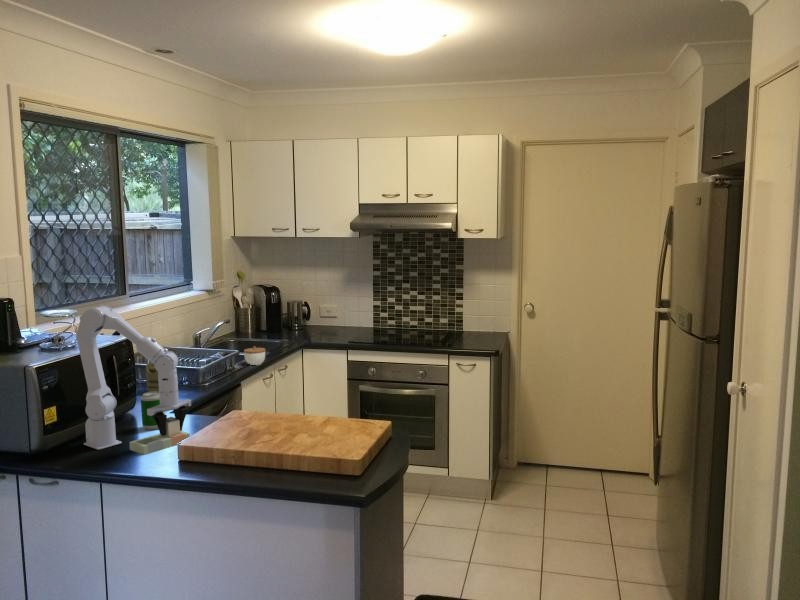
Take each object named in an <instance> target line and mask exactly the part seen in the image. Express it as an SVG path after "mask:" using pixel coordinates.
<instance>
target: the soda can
mask: <svg viewBox="0 0 800 600" xmlns="http://www.w3.org/2000/svg"><path fill="white" fill-rule="evenodd" d="M157 405H160V398H159V392H156V391H155V392H147V391H146V392H144V393H142V395H141V397H140V409H141V421H142V422H141V425H142V427H143V428H144V429H145V430H146V429H147V431H154V429H156V430H159V429H158V426H157V424H156V422H155V420H154V419H153V417H152V416H149V415H147V409H149V408H152V407H155V406H157ZM163 413H164V415H166V412H163Z"/></svg>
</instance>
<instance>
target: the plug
mask: <svg viewBox="0 0 800 600" xmlns="http://www.w3.org/2000/svg"><path fill="white" fill-rule="evenodd" d="M178 434H180V421H179V420H177V419H176V418H175V416H174V417H173V416H169V417H167V418H166V435H164V437H167V438H170V437H171V436H174V435H178ZM162 436H163V435H162Z"/></svg>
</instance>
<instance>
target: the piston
mask: <svg viewBox="0 0 800 600" xmlns="http://www.w3.org/2000/svg"><path fill="white" fill-rule="evenodd" d="M145 376H146V377H145V378H146V393H147V392H155V391H156V392H159V382H158V371H157V370H156V369H155V366H154V363H152V362H149V363H146V364H145Z"/></svg>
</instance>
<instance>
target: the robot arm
mask: <svg viewBox="0 0 800 600" xmlns="http://www.w3.org/2000/svg"><path fill="white" fill-rule="evenodd" d="M102 330H112V331H113V330H114V331H116V332H118V333H119V334H120V335H122V336H123V337H124V338H125V339H127V340H128V341H130V342H131V343H132V344H134V345H135V347H136V351H137V352H138V353H139V354H141V355H142V356H143V357H144V358H145V359H146V360H148V361H149V363H154V366H155V369H156V370H157V371H158V382H159V398H160V405H157V406H155V407H152V408H149V409H147V415H149V416H152V417H153V419H154V420H155V422H156V424H157V426H158V429H157V430H158V431H159V434H160V435H163V436H164V435H166V418H168V415H167V414H165V415H164V413H163V412H165V413H166V412H169V411H173V413H174V418H176V419H177V420H179V421H180V431H183V427H184V422H185V419H186V416H187V414H188V412H189V408H188V407H191V406H192V400H191V399H188V398H187V399H182V400H180V399H179V398H180V397H179V385H178V384H179V382H178V380H179V379H178V373H177V372H178V371H177V366H178V365H179V357H178V355H177V354H176V353H175V352H174V351H169V349H168V348H165V347H163V346H162V345H161V344H160V343H158V342H157V338H155V337H151V336H143V335H142V334H141V333H140V332H139V331H138V330H136V329H135V327H133V326H132V325H131V324H130V323H129V322H127V320H126V319H124V318H123V317H122V316H121V315H120V314H119V312H117V311H116V310H113V308H112V307H110V306H109V305H105V304H104V305H100V306H96V307H93V308H89V309H86V310H84V312H83V313H82V315H80V317H79V323H78V327H77V331H76V333H75V337H76V341H77V342H76V343H77V346H78V350H79V355H80V360H81V364H82V368H83V372H84V378H85V382H86V385H87V393H86V398H85V401H86V406H85V410H84V411H85V414H86V415H87V417H88V418H87V419H86V421H85V425H84V428H85V439H86V442H84V443H83V445H84V446H86V447H90V448H92V449H95V450H103V449H106V448H109V447H112V446H116V445H120V444H122V443H123V442H122V441H121V440H118V439H117V436H116V435H117V434H116V433H117V432H116V422H115V421H116V419H115V412H114V410H115V409H116V407H117V402H118V401H117V399H116V397H115V396H114V395H113V393H112V391H111V388H110V387H109V386H108V385H107V382H106V378H105V373H104V370H103V365H102V360H101V355H100V352H99V347H98V342H97V338H96V337H97V336H98V335H99V334H100V332H101V331H102Z"/></svg>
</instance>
